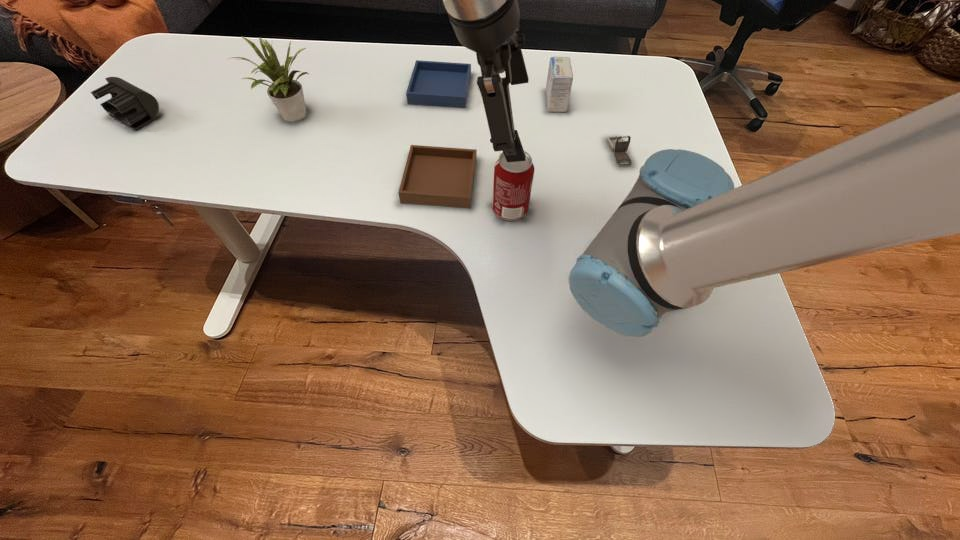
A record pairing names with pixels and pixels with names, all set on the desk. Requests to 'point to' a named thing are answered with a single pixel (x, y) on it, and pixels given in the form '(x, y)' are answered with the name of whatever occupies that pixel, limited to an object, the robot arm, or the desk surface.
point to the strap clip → (620, 149)
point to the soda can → (512, 187)
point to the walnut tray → (438, 176)
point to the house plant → (280, 82)
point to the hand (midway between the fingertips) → (518, 119)
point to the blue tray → (439, 84)
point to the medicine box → (559, 84)
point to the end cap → (127, 103)
